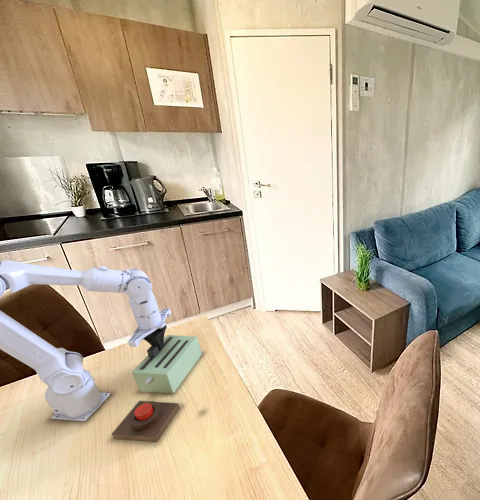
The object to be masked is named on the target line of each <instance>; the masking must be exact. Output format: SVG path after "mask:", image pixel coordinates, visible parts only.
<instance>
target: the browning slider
mask: <svg viewBox="0 0 480 500" xmlns="http://www.w3.org/2000/svg"><path fill="white" fill-rule="evenodd" d="M146 353H147V356H149V358H155V357H156V356H157V355H158V354H159V350H158V347H157V346H151V345H150V346H149V348H147V350H146Z"/></svg>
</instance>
